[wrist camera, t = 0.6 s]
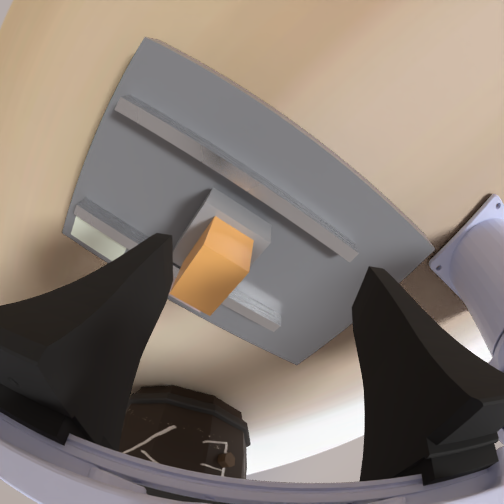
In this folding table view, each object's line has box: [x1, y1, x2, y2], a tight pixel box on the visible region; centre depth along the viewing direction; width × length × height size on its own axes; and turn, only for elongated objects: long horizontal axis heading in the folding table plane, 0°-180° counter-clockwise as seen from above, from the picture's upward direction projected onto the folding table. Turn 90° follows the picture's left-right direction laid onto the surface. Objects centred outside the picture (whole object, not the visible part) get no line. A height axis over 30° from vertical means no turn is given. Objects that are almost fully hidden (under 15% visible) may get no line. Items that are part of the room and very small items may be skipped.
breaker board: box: [62, 37, 435, 365], centre depth 20 cm, size 22×15×3 cm
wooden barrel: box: [118, 385, 250, 504], centre depth 31 cm, size 18×18×16 cm
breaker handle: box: [170, 187, 272, 316], centre depth 17 cm, size 4×4×5 cm
